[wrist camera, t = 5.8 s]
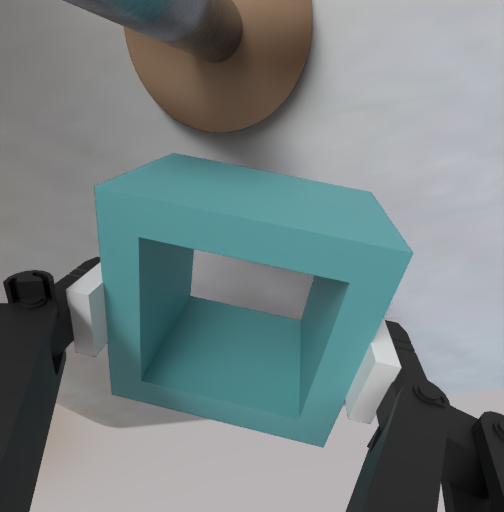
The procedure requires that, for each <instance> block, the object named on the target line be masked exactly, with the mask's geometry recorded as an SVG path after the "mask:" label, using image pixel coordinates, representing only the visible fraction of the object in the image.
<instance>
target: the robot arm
mask: <svg viewBox="0 0 504 512" xmlns="http://www.w3.org/2000/svg"><path fill="white" fill-rule="evenodd" d="M3 284H4V288H5V291H6V295H7V299H8V303H0V512H29V511H30V506H31V502H32V498H33V494H34V490H35V486H36V482H37V477H38V473H39V469H40V465H41V461H42V457H43V452H44V448H45V444H46V440H47V436H48V432H49V428H50V423H51V419H52V415H53V411H54V407H55V403H56V399H57V394H58V390H59V386H60V382H61V378H62V374H63V370H64V365H65V361H66V348H67V346H68V345H69V344H70V343H71V342H72V341H74V348H75V352H76V353H80V354H84V355H88V356H93V357H96V356H97V354H98V353H99V352H100V351H101V349H102V348H103V347H104V346H105V345H106V343H107V342H108V334H107V322H106V310H105V298H104V286H103V282H102V273H101V261H100V257H96V258H93V259H90V260H88V261H85V262H84V263H83V264H81V265H80V266H78V267H77V269H74V270H73V271H72V272H70V274H69V275H66V276H65V277H64V278H62V279H61V280H60V281H58V282H57V283H56V284H54V279H53V276H52V275H51V274H50V273H48V272H45V271H38V270H32V271H24V272H20V273H17V274H14V275H12V276H10V277H8V278H7V279H6V280H5V281H4V282H3ZM414 351H415V350H414V348H413V346H412V344H411V341H410V339H409V336H408V334H407V332H406V331H405V330H404V329H403V328H402V327H401V326H400V325H399V324H398V323H396V322H391V321H387V320H384V318H383V320H382V322H381V324H380V326H379V328H378V331H377V333H376V335H375V337H374V339H373V341H372V343H370V345H369V348H368V350H367V352H366V354H365V356H364V358H363V361H362V363H361V365H360V367H359V369H358V371H357V374H356V376H355V378H354V380H353V382H352V384H351V387H350V389H349V391H348V393H347V395H346V397H345V401H346V409H347V416H348V419H351V420H355V421H359V422H363V423H367V424H371V422H372V420H373V418H374V416H375V415H376V414H377V418H378V423H379V427H378V428H377V430H376V432H375V433H374V435H373V437H372V439H371V441H370V442H369V444H368V446H367V447H368V448H369V450H368V453H367V455H366V458H365V461H364V463H363V466H362V469H361V472H360V474H359V477H358V480H357V483H356V485H355V488H354V490H353V493H352V496H351V499H350V501H349V504H348V507H347V510H346V512H437V507H438V500H439V492H440V484H442V491H443V498H444V505H445V512H504V415H502V414H499V413H496V412H492V411H490V412H484V413H483V414H482V415H481V417H480V418H479V419H477V418H475V417H473V416H471V415H469V414H467V413H464V412H462V411H460V410H458V409H456V408H454V407H452V406H451V405H450V403H449V400H448V399H447V397H446V395H445V394H444V393H443V392H442V391H441V390H440V389H439V388H438V387H437V386H436V385H434V384H433V383H431V382H430V381H428V380H427V378H426V376H425V373H424V371H423V369H422V366H421V364H420V362H419V360H418V357H417V355H416V353H414Z"/></svg>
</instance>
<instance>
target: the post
mask: <svg viewBox="0 0 504 512" xmlns="http://www.w3.org/2000/svg"><path fill="white" fill-rule="evenodd" d="M64 1H66V2H68V3H71V4H73V5H75V6H78V7H80V8H82V9H85V10H87V11H90V12H92V13H94V14H97V15H99V16H101V17H104V18H106V19H108V20H111V21H113V22H115V23H118V24H120V25H123V26H125V27H127V28H130V29H132V30H134V31H137V32H139V33H141V34H144V35H146V36H148V37H151V38H153V39H155V40H158V41H160V42H163V43H165V44H167V45H170V46H172V47H174V48H177V49H179V50H181V51H184V52H186V53H188V54H191V55H193V56H195V57H198V58H200V59H203V60H205V61H207V62H211V63H219V62H223V61H225V60H227V59H229V58H230V57H231V56H232V55H233V54H234V53H235V52H236V50H237V48H238V47H239V44H240V41H241V38H242V19H241V15H240V13H239V10H238V8H237V6H236V5H235V3H234V2H233V1H232V0H64Z"/></svg>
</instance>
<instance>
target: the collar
mask: <svg viewBox="0 0 504 512" xmlns="http://www.w3.org/2000/svg"><path fill="white" fill-rule="evenodd" d="M94 191H95V203H96V215H97V226H98V238H99V250H100V261H101V273H102V282H103V286H104V298H105V310H106V322H107V334H108V342H107V344H108V355H109V367H110V379H111V391H112V395H116V396H120V397H124V398H128V399H132V400H136V401H140V402H144V403H148V404H152V405H156V406H160V407H164V408H168V409H172V410H176V411H180V412H184V413H188V414H192V415H196V416H200V417H204V418H208V419H212V420H216V421H220V422H224V423H228V424H232V425H236V426H240V427H244V428H248V429H252V430H256V431H260V432H264V433H268V434H272V435H276V436H280V437H284V438H288V439H292V440H296V441H299V442H304V443H307V444H312V445H316V446H319V447H324V445H325V443H326V441H327V438H328V436H329V434H330V432H331V430H332V428H333V425H334V423H335V421H336V419H337V417H338V415H339V412H340V410H341V408H342V406H343V404H344V402H345V397H346V395H347V393H348V391H349V389H350V387H351V384H352V382H353V380H354V378H355V376H356V374H357V371H358V369H359V367H360V365H361V363H362V361H363V358H364V356H365V354H366V352H367V350H368V348H369V345H370V343H372V341H373V339H374V337H375V335H376V333H377V331H378V328H379V326H380V324H381V322H382V320H383V318H384V315H385V313H386V311H387V309H388V307H389V305H390V303H391V300H392V298H393V296H394V294H395V292H396V290H397V287H398V285H399V283H400V281H401V279H402V277H403V275H404V272H405V270H406V268H407V266H408V264H409V262H410V259H411V257H412V255H413V252H412V250H411V249H410V247H409V246H408V245H407V243H406V242H405V240H404V239H403V237H402V236H401V234H400V233H399V232H398V230H397V229H396V227H395V226H394V224H393V223H392V221H391V220H390V219H389V217H388V216H387V214H386V213H385V211H384V210H383V208H382V207H381V206H380V204H379V203H378V201H377V200H376V198H375V197H374V195H373V194H372V193H371V192H367V191H362V190H357V189H352V188H347V187H342V186H337V185H332V184H327V183H322V182H317V181H312V180H307V179H302V178H297V177H292V176H287V175H282V174H277V173H272V172H267V171H262V170H257V169H252V168H247V167H241V166H236V165H231V164H226V163H221V162H216V161H211V160H206V159H201V158H196V157H191V156H186V155H181V154H176V153H172V154H170V155H168V156H165V157H163V158H160V159H158V160H156V161H153V162H151V163H149V164H146V165H144V166H141V167H139V168H137V169H134V170H132V171H130V172H127V173H125V174H122V175H120V176H118V177H115V178H113V179H111V180H108V181H106V182H104V183H101V184H99V185H96V186H94ZM194 249H196V250H201V251H205V252H210V253H214V254H219V255H224V256H228V257H233V258H238V259H242V260H247V261H251V262H256V263H261V264H265V265H270V266H274V267H279V268H284V269H288V270H293V271H297V272H302V273H307V274H311V275H315V276H314V280H313V283H312V286H311V289H310V293H309V296H308V299H307V303H306V306H305V309H304V313H303V316H302V319H301V321H299V320H294V319H290V318H285V317H281V316H277V315H272V314H268V313H263V312H259V311H255V310H250V309H246V308H241V307H237V306H233V305H228V304H224V303H219V302H215V301H211V300H206V299H202V298H197V297H193V296H190V292H191V280H192V267H193V254H194Z"/></svg>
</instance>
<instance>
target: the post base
mask: <svg viewBox="0 0 504 512" xmlns="http://www.w3.org/2000/svg"><path fill="white" fill-rule="evenodd" d="M232 1H233V2H234V3H235V5H236V6H237V8H238V10H239V13H240V15H241V19H242V38H241V41H240V44H239V47H238V48H237V50H236V52H235V53H234V54H233V55H232V56H231V57H230V58H229V59H227V60H225V61H223V62H219V63H211V62H207V61H205V60H203V59H200V58H198V57H195V56H193V55H191V54H188V53H186V52H184V51H181V50H179V49H177V48H174V47H172V46H170V45H167V44H165V43H163V42H160V41H158V40H155V39H153V38H151V37H148V36H146V35H144V34H141V33H139V32H137V31H134V30H132V29H130V28H127V27H125V26H124V31H125V36H126V42H127V46H128V50H129V53H130V57H131V60H132V62H133V65H134V67H135V70H136V72H137V74H138V76H139V78H140V80H141V82H142V83H143V85H144V86H145V88H146V89H147V91H148V93H149V94H150V95H151V96H152V98H153V99H154V100H155V101H156V102H157V103H158V104H159V105H160V106H161V107H162V108H163V109H164V110H165V111H166V112H167V113H168V114H170V115H171V116H172V117H174V118H175V119H177V120H178V121H180V122H182V123H184V124H186V125H188V126H190V127H193V128H195V129H199V130H203V131H208V132H231V131H237V130H240V129H243V128H247V127H249V126H252V125H254V124H256V123H258V122H260V121H262V120H263V119H265V118H266V117H268V116H269V115H271V114H272V113H273V112H274V111H275V110H276V109H278V108H279V107H280V106H281V105H282V103H283V102H284V101H285V100H286V99H287V98H288V96H289V95H290V93H291V92H292V90H293V89H294V87H295V85H296V84H297V82H298V80H299V78H300V76H301V73H302V71H303V68H304V66H305V63H306V59H307V56H308V52H309V47H310V41H311V33H312V0H232Z"/></svg>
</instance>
